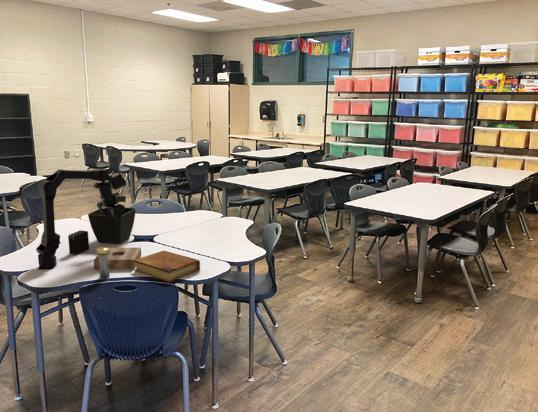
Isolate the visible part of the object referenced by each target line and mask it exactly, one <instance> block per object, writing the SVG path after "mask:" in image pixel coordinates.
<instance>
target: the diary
mask: <svg viewBox="0 0 538 412" xmlns="http://www.w3.org/2000/svg"><path fill="white" fill-rule="evenodd" d="M134 262H136V267H135V269H133V270H134V272H137V273H140V274H142V275H143V274H144V275H147V276H149V277H152V278H155V279H158V280H161V281H164V282H167V283H172V282H174V281H176V280H179V279H181V278H184V277H187V276H189V275H192V274H195V273H197V272H199V271H200V270H201V261H200V260H199V259H196V258H193V257H189V256H186V255H182V254H179V253H175V252H171V251H167V250H160V251H158V252H155V253H151V254H148V255H146V256H143V257H142V256H141V258H139V259H135V260H134Z"/></svg>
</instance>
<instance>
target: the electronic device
mask: <svg viewBox="0 0 538 412" xmlns="http://www.w3.org/2000/svg"><path fill="white" fill-rule="evenodd" d="M67 238H68V251H69V254H70V255H76V256H77V255H80V254H83V253H85V252H86V251H88V250H89V249H90V242H89V241H90V239H89V231H88V230H78V231H75V232H73V233H70V234H68V237H67Z"/></svg>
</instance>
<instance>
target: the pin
mask: <svg viewBox="0 0 538 412" xmlns="http://www.w3.org/2000/svg"><path fill="white" fill-rule="evenodd" d="M109 248H110V247H108V246H102V247H97V248H96V254H97V255H98V256H99V279H101V280H107V279H110V275H111V274H110V269H109V258H108V253H109V252H110V250H109Z"/></svg>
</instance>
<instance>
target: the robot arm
mask: <svg viewBox="0 0 538 412" xmlns="http://www.w3.org/2000/svg"><path fill="white" fill-rule="evenodd" d="M65 179H74V180H75V179H77V180H78V179H80V180H81V179H83V180H86V179H87V180H92V181H98V182H95V183H94V185H93V188H94V189H97V190H98V191H99V194H100V196H99V198H100V200H101V201H98V202H97V203H96V207H97V210H98V209H99V210H100V211H101V212H102V213H103V214H104V215H105V216H106V217H107V218H108V219H109V220H110V221H111V220H112V215H113V217H114V218H115V219H116V221H117V222H118V223H119V224H121V215H122V212H123V211H124V210H125V208H126V206H125V205H124V204H121V203H126V201H127V195H123V194H120V193H119V192H114V193H113V190H114V191H117V190H119V189H121V188H124V187H126V186H127V181H126V179H125V178H124V176H123V175H122V173H117V174H116V175H113V176H111V175H110V174H109V172H108V171H107V170H105V169H101V168H91V169H89V170H81V169H80V170H78V169H77V170H75V169H63V168H59V169H56V171H54V172H53V173H52V174H50V175H48V177H46V178H45V179H42V180H41V181H39V182H38V184H37V187H38V192H39V195H40V198H41V201H42V216H43V218H42V219H43V220H42V221H43V232H42V235H41V239H40V244H39V245H38V246H37V247H36V248H35V250H36V252H37V257H38V259H37V260H38V267H37V270H49V269H50V270H53V269H54V268H55V267H56V266H57V265H58V263H57V256H56V252H57V250H58V249H59V247H60V245H61V244H62V243H61V234H58V233H57V232H56V230H55V229H56V228H55V227H56V226H55V223H56V222H55V203H54V201H55V199H56V195H57V190H58V189H57V188H59V187H60V186H61V184H62V183H63V181H64V180H65ZM111 214H112V215H111Z"/></svg>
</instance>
